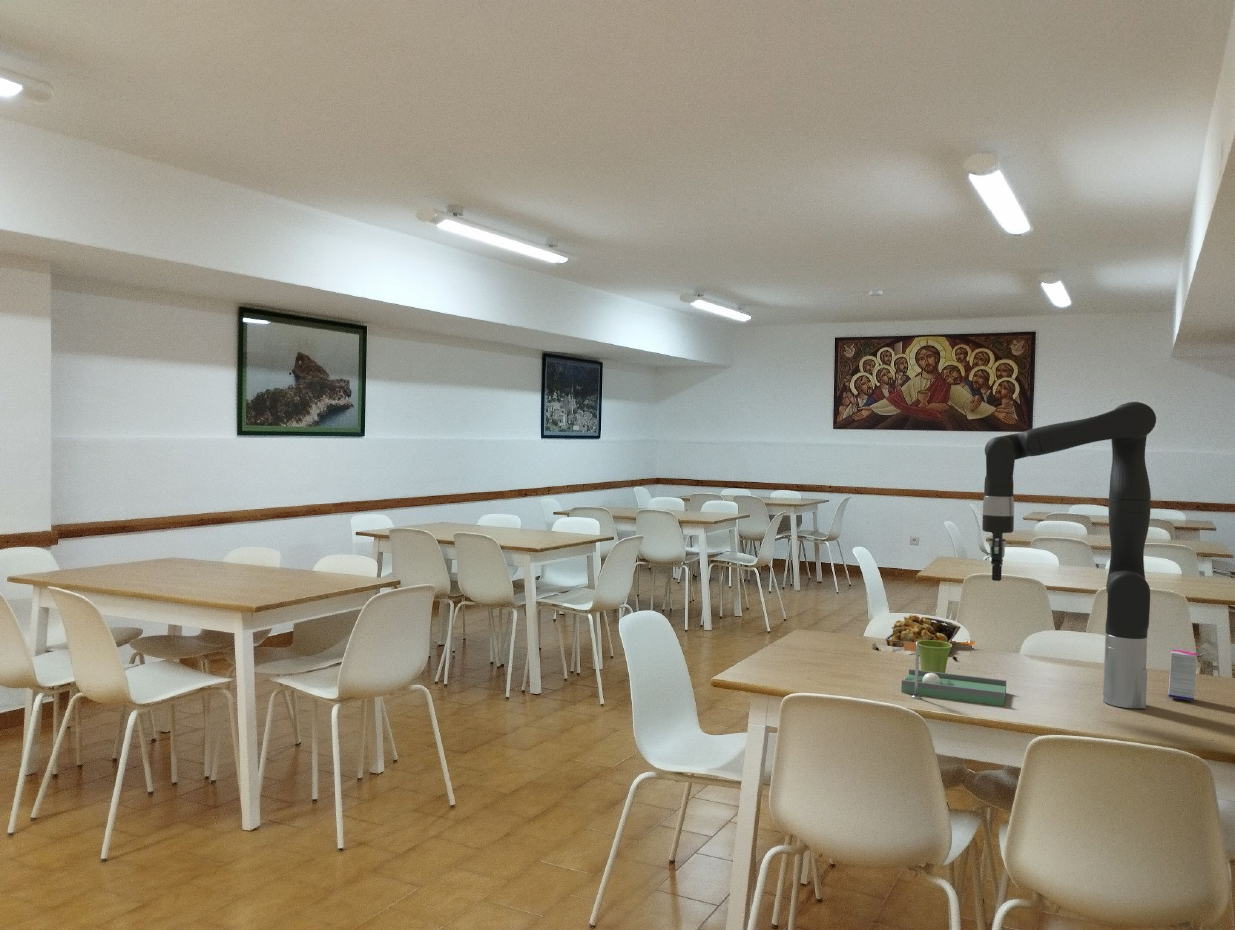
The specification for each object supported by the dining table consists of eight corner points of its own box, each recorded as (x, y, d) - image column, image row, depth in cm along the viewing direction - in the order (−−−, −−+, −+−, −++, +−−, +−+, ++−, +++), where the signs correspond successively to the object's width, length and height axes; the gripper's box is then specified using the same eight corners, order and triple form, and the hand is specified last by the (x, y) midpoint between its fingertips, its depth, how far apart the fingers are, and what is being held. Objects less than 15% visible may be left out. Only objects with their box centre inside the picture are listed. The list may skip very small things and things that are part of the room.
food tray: (896, 634, 319) (897, 602, 318) (976, 643, 306) (977, 610, 306) (870, 653, 288) (871, 618, 288) (957, 664, 276) (958, 627, 275)
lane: (1006, 692, 241) (1006, 680, 241) (1003, 706, 228) (1003, 693, 228) (908, 680, 251) (909, 668, 251) (901, 693, 238) (901, 680, 238)
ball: (925, 688, 245) (942, 687, 243) (922, 692, 241) (940, 691, 239) (922, 671, 245) (939, 670, 243) (920, 675, 241) (937, 674, 239)
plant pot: (953, 680, 253) (954, 648, 253) (917, 677, 255) (918, 646, 255) (948, 672, 262) (949, 641, 262) (913, 669, 264) (914, 639, 264)
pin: (921, 697, 234) (923, 642, 234) (920, 700, 232) (922, 643, 232) (903, 695, 236) (905, 640, 236) (901, 697, 234) (903, 641, 234)
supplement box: (1195, 700, 238) (1196, 655, 237) (1167, 697, 241) (1169, 652, 240) (1195, 695, 242) (1196, 651, 242) (1168, 692, 246) (1170, 648, 245)
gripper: (1013, 515, 236) (1011, 584, 236) (1014, 512, 248) (1012, 578, 248) (981, 514, 239) (979, 582, 239) (984, 511, 251) (982, 576, 251)
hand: (996, 580), depth 244 cm, fingers closed
